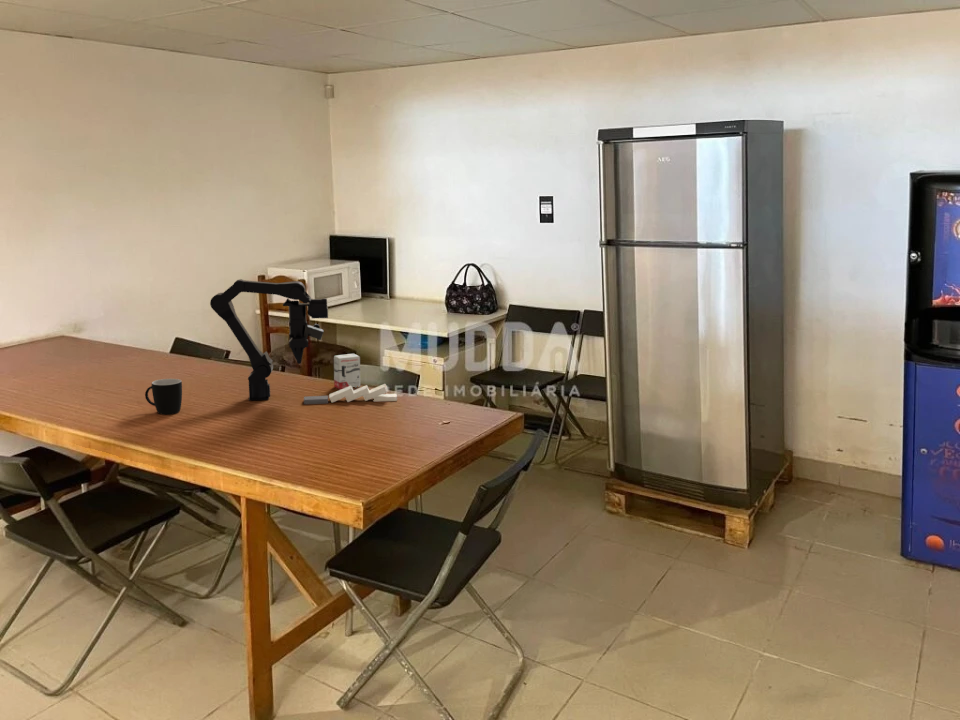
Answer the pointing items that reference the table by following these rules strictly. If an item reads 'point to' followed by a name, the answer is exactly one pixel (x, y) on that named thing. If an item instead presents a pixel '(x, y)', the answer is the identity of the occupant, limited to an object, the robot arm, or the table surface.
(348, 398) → the domino
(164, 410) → the mug
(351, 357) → the ink box
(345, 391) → the domino
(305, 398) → the domino
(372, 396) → the domino
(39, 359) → the table surface
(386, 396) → the domino
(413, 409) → the table surface
